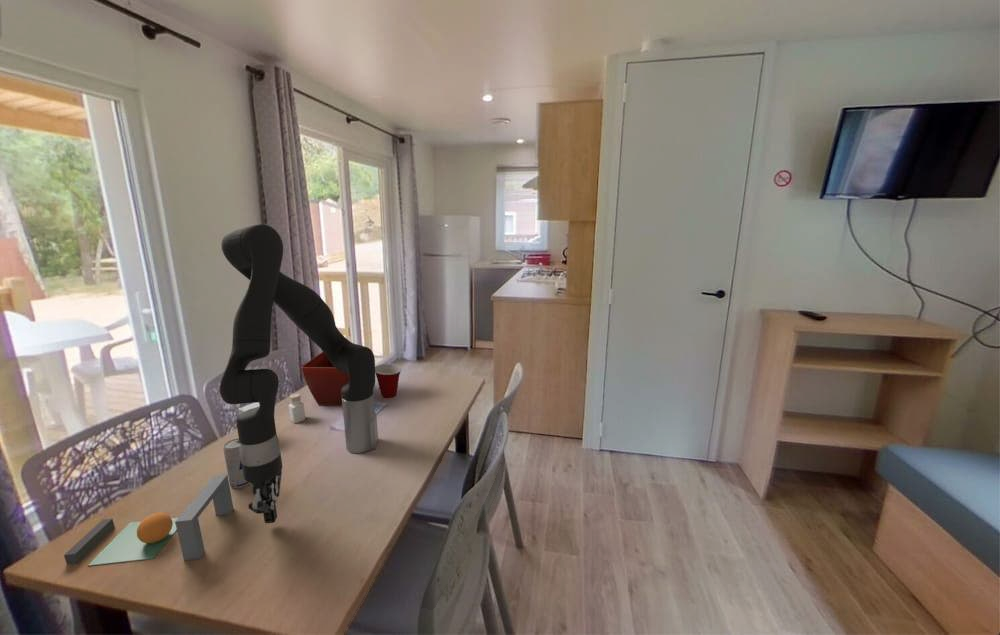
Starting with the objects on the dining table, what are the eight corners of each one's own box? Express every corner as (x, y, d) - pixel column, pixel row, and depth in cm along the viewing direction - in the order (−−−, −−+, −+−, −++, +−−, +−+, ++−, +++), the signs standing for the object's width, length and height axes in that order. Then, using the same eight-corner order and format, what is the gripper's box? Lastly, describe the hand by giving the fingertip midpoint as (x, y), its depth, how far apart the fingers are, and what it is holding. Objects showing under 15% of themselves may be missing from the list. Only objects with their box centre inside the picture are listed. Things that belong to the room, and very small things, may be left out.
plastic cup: (399, 401, 156) (398, 373, 153) (372, 401, 156) (370, 372, 153) (406, 390, 166) (404, 363, 163) (380, 389, 166) (378, 362, 164)
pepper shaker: (306, 420, 141) (303, 395, 139) (294, 424, 138) (291, 399, 136) (301, 416, 144) (298, 392, 141) (289, 420, 141) (286, 395, 138)
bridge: (233, 508, 98) (227, 474, 96) (199, 558, 84) (191, 519, 81) (220, 510, 98) (213, 475, 95) (183, 560, 83) (175, 521, 81)
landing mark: (187, 517, 95) (187, 516, 95) (153, 558, 84) (153, 557, 84) (130, 523, 93) (130, 522, 93) (88, 566, 82) (87, 565, 82)
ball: (163, 502, 90) (140, 518, 90) (147, 521, 84) (122, 538, 84) (184, 518, 92) (162, 533, 92) (170, 538, 86) (146, 554, 86)
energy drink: (258, 478, 109) (251, 439, 106) (240, 491, 105) (233, 450, 102) (243, 474, 111) (237, 436, 108) (225, 486, 106) (217, 446, 103)
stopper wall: (114, 527, 92) (112, 518, 91) (78, 563, 82) (75, 553, 82) (105, 528, 92) (102, 519, 91) (66, 565, 82) (63, 555, 81)
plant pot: (327, 388, 168) (323, 350, 163) (372, 389, 167) (369, 351, 163) (304, 409, 149) (299, 367, 145) (355, 410, 149) (351, 368, 144)
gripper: (267, 471, 83) (278, 540, 87) (289, 437, 95) (297, 499, 99) (227, 474, 81) (240, 545, 86) (255, 440, 94) (265, 502, 98)
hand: (271, 520), depth 93 cm, fingers closed
